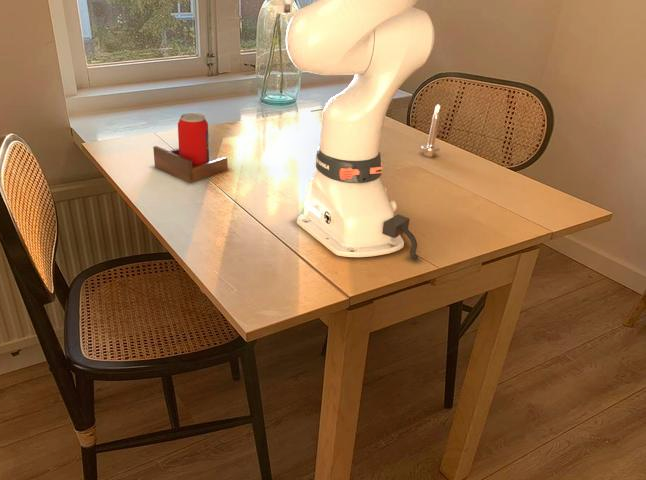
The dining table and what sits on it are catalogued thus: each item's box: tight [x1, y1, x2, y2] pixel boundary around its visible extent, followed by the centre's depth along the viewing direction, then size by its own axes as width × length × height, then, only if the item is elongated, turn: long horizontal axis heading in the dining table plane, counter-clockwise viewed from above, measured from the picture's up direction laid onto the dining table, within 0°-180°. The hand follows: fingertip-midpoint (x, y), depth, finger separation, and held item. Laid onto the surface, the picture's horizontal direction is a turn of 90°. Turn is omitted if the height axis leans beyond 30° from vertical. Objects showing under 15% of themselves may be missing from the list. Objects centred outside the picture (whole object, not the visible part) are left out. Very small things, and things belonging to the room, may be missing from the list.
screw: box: [420, 104, 442, 158], centre depth 146 cm, size 13×5×5 cm
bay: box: [152, 145, 228, 184], centre depth 134 cm, size 11×12×5 cm
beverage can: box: [177, 112, 210, 167], centre depth 132 cm, size 7×7×12 cm
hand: (284, 13), depth 125 cm, fingers closed
